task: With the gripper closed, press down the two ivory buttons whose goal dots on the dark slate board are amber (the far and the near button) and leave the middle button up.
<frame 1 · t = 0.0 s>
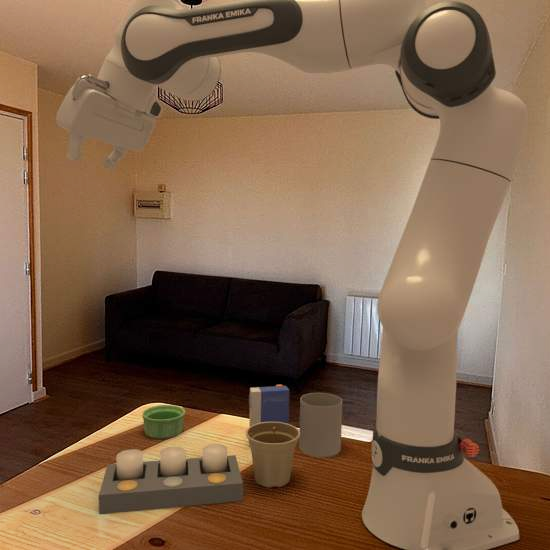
hand: (91, 164, 86), 54 cm above the table, tool tilted 30°, fingers open, 8 cm apart
flower pot: (272, 480, 86), on the table
button a: (214, 458, 84), point 4 cm above the table, slide at 0.0 cm
button c: (129, 464, 81), point 4 cm above the table, slide at 0.0 cm
walkman: (268, 445, 100), on the table
board: (173, 490, 82), on the table
button b: (173, 461, 83), point 4 cm above the table, slide at 0.0 cm
ramekin: (163, 432, 106), on the table
cup: (319, 448, 99), on the table
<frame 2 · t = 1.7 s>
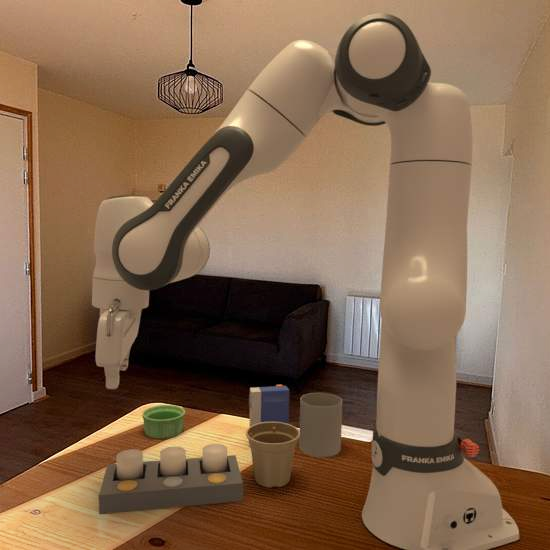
hand: (117, 377, 81), 19 cm above the table, tool pointing down, fingers open, 8 cm apart
nothing on the table moved.
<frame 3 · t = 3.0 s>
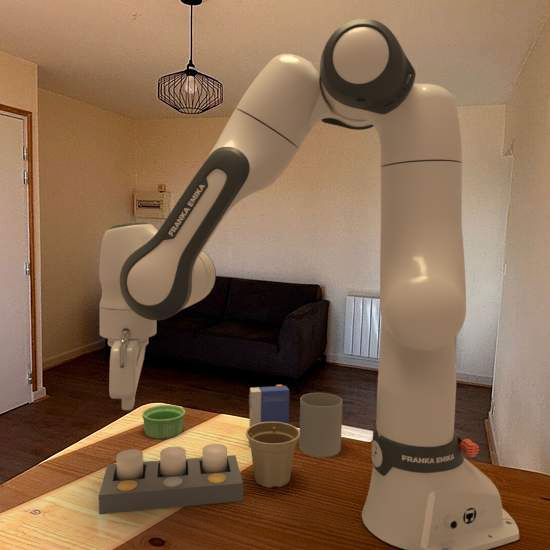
hand: (128, 406, 80), 14 cm above the table, tool pointing down, fingers closed
nothing on the table moved.
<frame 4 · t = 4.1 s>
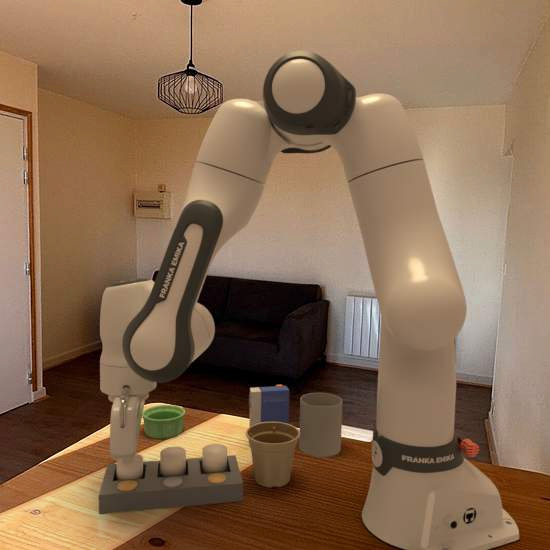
hand: (128, 459, 81), 5 cm above the table, tool pointing down, fingers closed, pressing on button c
button c: (129, 469, 81), point 4 cm above the table, slide at 0.8 cm, touching gripper
everything else where it was.
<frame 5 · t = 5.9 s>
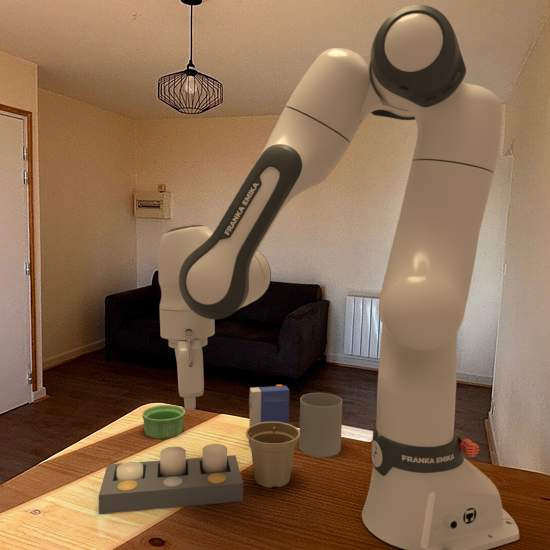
hand: (189, 406, 82), 14 cm above the table, tool pointing down, fingers closed
button c: (130, 477, 81), point 2 cm above the table, slide at 2.2 cm
everything else where it was.
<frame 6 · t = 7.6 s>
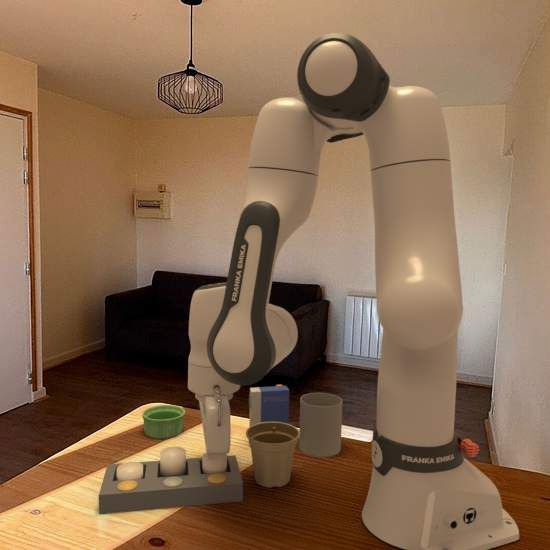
hand: (212, 456, 84), 5 cm above the table, tool pointing down, fingers closed, pressing on button a
button a: (214, 466, 84), point 3 cm above the table, slide at 1.4 cm, touching gripper
everything else where it was.
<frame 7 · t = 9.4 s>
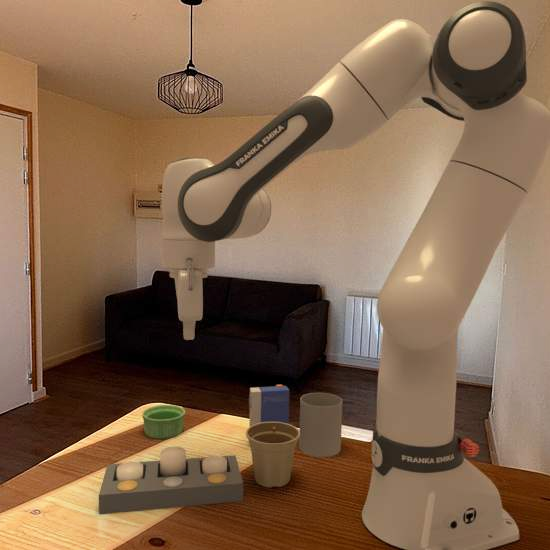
hand: (188, 338, 84), 25 cm above the table, tool pointing down, fingers closed
button a: (214, 470, 84), point 2 cm above the table, slide at 2.2 cm
everything else where it was.
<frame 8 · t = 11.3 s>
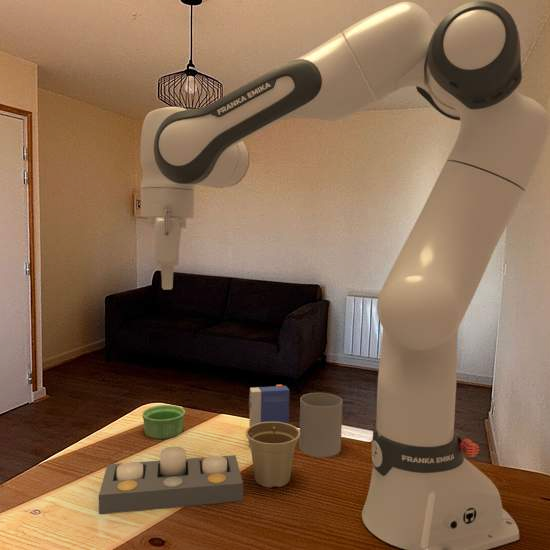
hand: (167, 288, 84), 33 cm above the table, tool pointing down, fingers closed
nothing on the table moved.
at the end: button c slide at 2.2 cm; button a slide at 2.2 cm; button b slide at 0.0 cm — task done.
